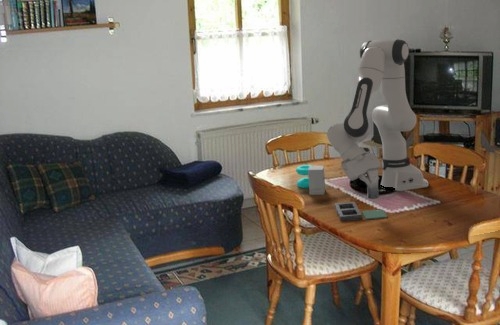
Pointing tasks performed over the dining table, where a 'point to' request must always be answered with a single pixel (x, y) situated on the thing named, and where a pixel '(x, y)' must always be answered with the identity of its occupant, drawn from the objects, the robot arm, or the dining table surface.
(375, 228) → the dining table surface
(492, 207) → the dining table surface
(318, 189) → the supplement box
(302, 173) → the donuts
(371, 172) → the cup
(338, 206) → the grey double frame
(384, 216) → the mat
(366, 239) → the dining table surface
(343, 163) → the robot arm
